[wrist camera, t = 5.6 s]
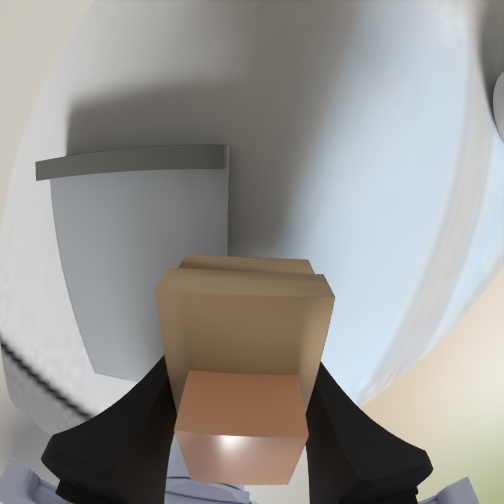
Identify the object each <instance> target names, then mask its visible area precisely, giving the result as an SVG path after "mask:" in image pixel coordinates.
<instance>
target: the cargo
mask: <svg viewBox="0 0 504 504" xmlns="http://www.w3.org/2000/svg"><path fill="white" fill-rule="evenodd" d="M174 432H175V435H176V438H177V441H178V444H179V447H180V450H181V453H182V456H183V459H184V462H185V465H186V467H187V470H188V473H189V475H190V478H191V480H193V481H201V482H210V483H221V484H238V485H282V484H288V483H289V481H290V479H291V477H292V474H293V472H294V470H295V468H296V465H297V463H298V461H299V458H300V456H301V454H302V451H303V449H304V446H305V444H306V441H307V439H308V436H309V434H308V428H307V422H306V416H305V409H304V403H303V397H302V392H301V386H300V380H299V375H259V374H233V373H217V372H205V371H194V370H189V372H188V376H187V380H186V383H185V387H184V391H183V395H182V399H181V403H180V407H179V411H178V415H177V419H176V423H175V428H174Z"/></svg>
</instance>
